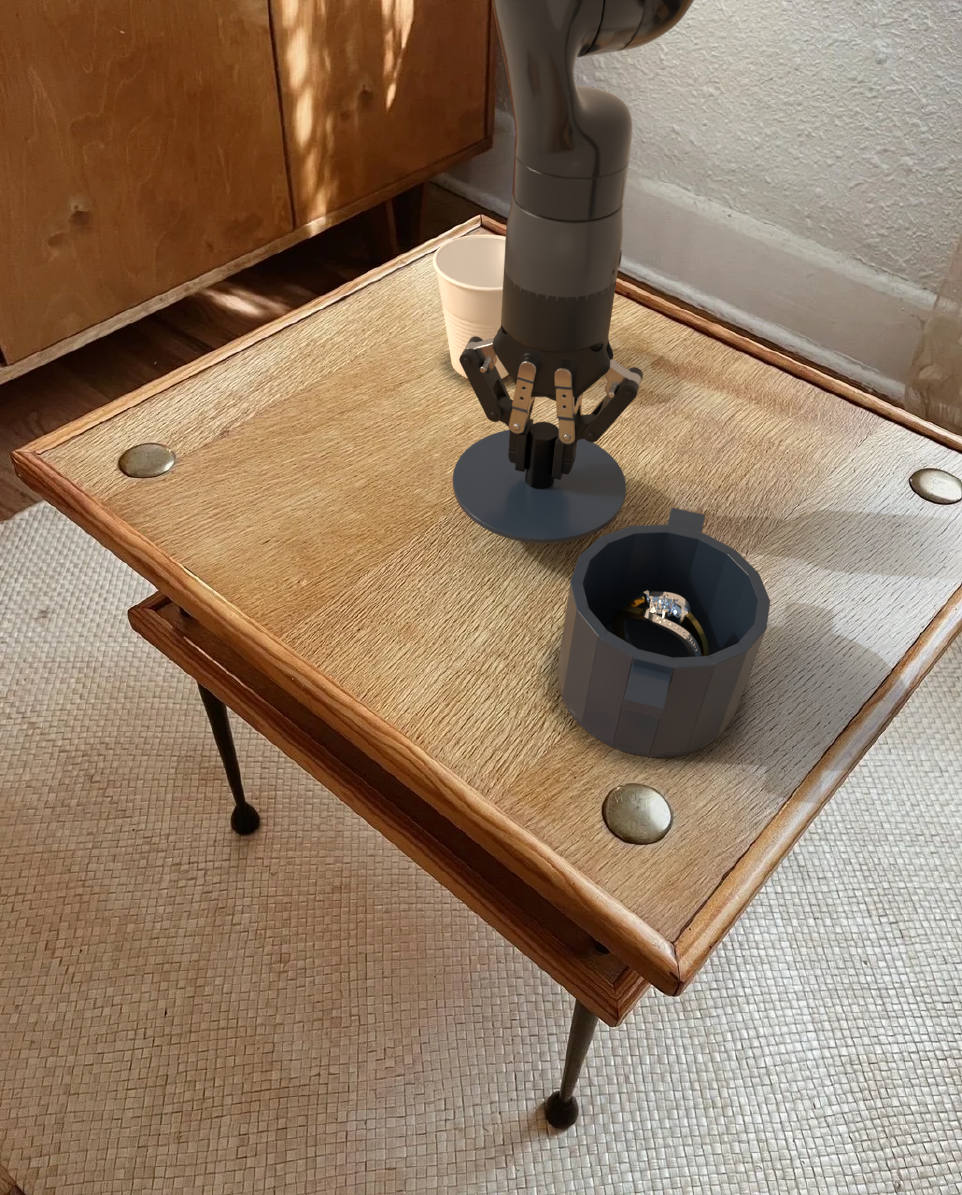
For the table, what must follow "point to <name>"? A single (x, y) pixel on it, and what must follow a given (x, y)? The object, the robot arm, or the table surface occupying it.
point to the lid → (538, 489)
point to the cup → (471, 291)
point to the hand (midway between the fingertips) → (541, 468)
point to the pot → (660, 638)
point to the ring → (663, 619)
